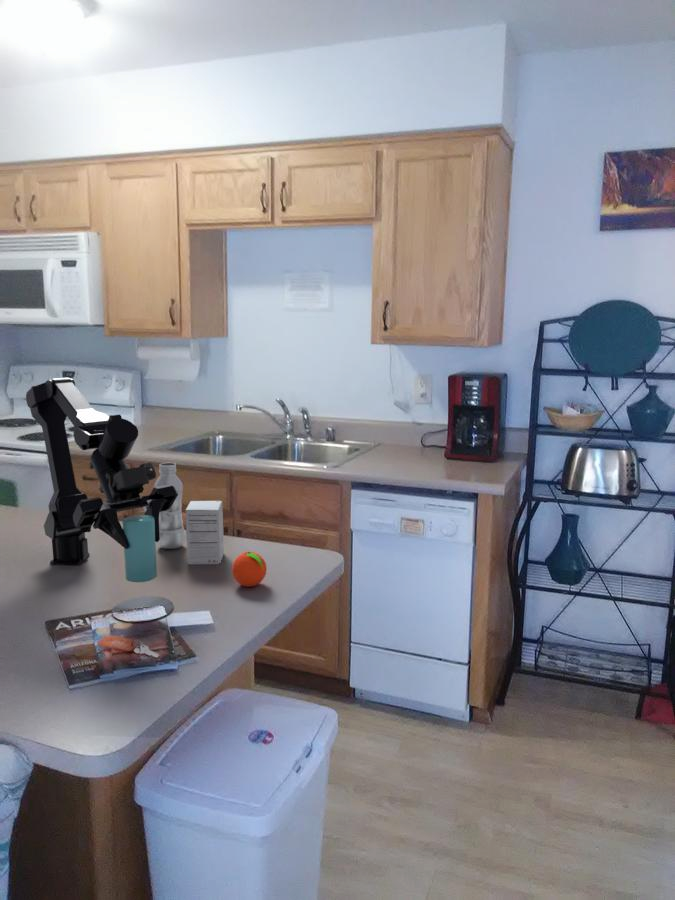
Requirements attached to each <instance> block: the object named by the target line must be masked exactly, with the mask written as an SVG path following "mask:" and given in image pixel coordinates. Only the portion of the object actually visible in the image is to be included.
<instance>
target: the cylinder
mask: <svg viewBox="0 0 675 900" xmlns="http://www.w3.org/2000/svg"><path fill="white" fill-rule="evenodd" d="M122 529H123V531H124V533H125V535H126V537H127V540H128V543H129V548H128V549H125V548H124V547H123V552H124V553H123V554H124V571H125V573H124V576H125V580H126V581H128V582H131V583H146V582H149V581H153V580H154V579H156V578H157V577H158V569H157V548H156V547H157V546H156V543H157V542H156V541H155V520H154V517H153V516H149V515H144V514H134V515H130V516H126V517H124V518H123V519H122Z"/></svg>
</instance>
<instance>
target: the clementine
mask: <svg viewBox="0 0 675 900" xmlns="http://www.w3.org/2000/svg"><path fill="white" fill-rule="evenodd" d="M231 569H232V570H231V573H232V576H233V577H234V580H235V581H236V582H237V583H238V584H239V585H240V586H243V587H248V588H249V587H254V586H258V585H259V584H260V583H261V582H262V581H263V580H264V578H265V577H266V574H267V569H268V568H267V564H266V561H265V559H264V558H263V557H262V556H261V555H260V554H258V553H257V552H255V551H245V552H242V553H240V555H238V556H237V557H236V558H235V559H234V562H233V563H232V568H231Z"/></svg>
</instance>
